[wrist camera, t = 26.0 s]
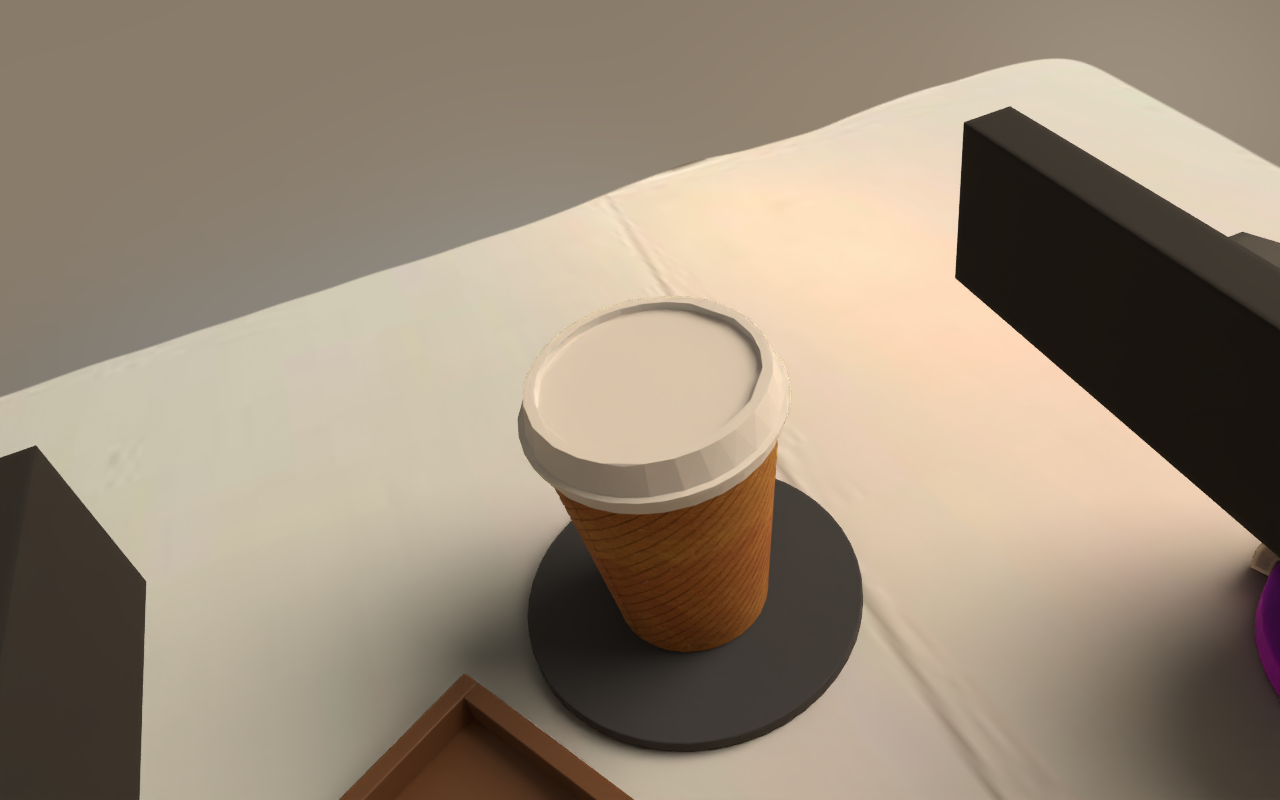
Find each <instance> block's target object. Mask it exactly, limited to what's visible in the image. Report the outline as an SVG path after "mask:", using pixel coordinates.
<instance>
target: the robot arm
mask: <svg viewBox="0 0 1280 800" xmlns="http://www.w3.org/2000/svg"><path fill="white" fill-rule="evenodd" d="M955 278H956V279H957V280H958V281H959V282H961V283H962V284H963V285H964V286H965V287H966V288H968V289H969V290H970V291H971V292H972V293H973V294H974V295H976V296H977V297H978V298H979V299H980V300H981V301H983V302H984V303H985V304H986V305H987V306H988V307H990V308H991V309H992V310H993V311H994V312H995V313H996V314H998V315H999V316H1000V317H1001V318H1002V319H1003V320H1005V321H1006V322H1007V323H1008V324H1009V325H1010V326H1012V327H1013V328H1014V329H1015V330H1016V331H1017V332H1019V333H1020V334H1021V335H1022V336H1023V337H1024V338H1025V339H1027V340H1028V341H1029V342H1030V343H1031V344H1032V345H1034V346H1035V347H1036V348H1037V349H1038V350H1039V351H1041V352H1042V353H1043V354H1044V355H1045V356H1046V357H1047V358H1049V359H1050V360H1051V361H1052V362H1053V363H1054V364H1056V365H1057V366H1058V367H1059V368H1060V369H1061V370H1063V371H1064V372H1065V373H1066V374H1067V375H1068V376H1069V377H1071V378H1072V379H1073V380H1074V381H1075V382H1076V383H1078V384H1079V385H1080V386H1081V387H1082V388H1083V389H1085V390H1086V391H1087V392H1088V393H1089V394H1090V395H1092V396H1093V397H1094V398H1095V399H1096V400H1097V401H1098V402H1100V403H1101V404H1102V405H1103V406H1104V407H1105V408H1107V409H1108V410H1109V411H1110V412H1111V413H1112V414H1114V415H1115V416H1116V417H1117V418H1118V419H1119V420H1120V421H1122V422H1123V423H1124V424H1125V425H1126V426H1127V427H1129V428H1130V429H1131V430H1132V431H1133V432H1134V433H1136V434H1137V435H1138V436H1139V437H1140V438H1141V439H1142V440H1144V441H1145V442H1146V443H1147V444H1148V445H1149V446H1151V447H1152V448H1153V449H1154V450H1155V451H1156V452H1158V453H1159V454H1160V455H1161V456H1162V457H1163V458H1165V459H1166V460H1167V461H1168V462H1169V463H1170V464H1171V465H1173V466H1174V467H1175V468H1176V469H1177V470H1178V471H1180V472H1181V473H1182V474H1183V475H1184V476H1185V477H1187V478H1188V479H1189V480H1190V481H1191V482H1192V483H1193V484H1195V485H1196V486H1197V487H1198V488H1199V489H1200V490H1202V491H1203V492H1204V493H1205V494H1206V495H1207V496H1209V497H1210V498H1211V499H1212V500H1213V501H1214V502H1216V503H1217V504H1218V505H1219V506H1220V507H1221V508H1222V509H1224V510H1225V511H1226V512H1227V513H1228V514H1229V515H1231V516H1232V517H1233V518H1234V519H1235V520H1236V521H1238V522H1239V523H1240V524H1241V525H1242V526H1243V527H1244V528H1246V529H1247V530H1248V531H1249V532H1250V533H1251V534H1253V535H1254V536H1255V537H1256V538H1257V539H1258V540H1260V541H1261V542H1262V543H1263V544H1264V545H1265V546H1266V547H1268V548H1269V549H1270V550H1271V551H1272V552H1273V553H1275V554H1276V555H1277V556H1278V557H1279V558H1280V243H1278V242H1275V241H1271V240H1268V239H1265V238H1261V237H1258V236H1255V235H1251V234H1248V233H1245V232H1241V233H1238V234H1235V235H1233V236H1230V237H1227V236H1225V235H1224V234H1222V233H1220V232H1219V231H1217V230H1215V229H1214V228H1212V227H1210V226H1209V225H1207V224H1205V223H1204V222H1202V221H1200V220H1199V219H1197V218H1195V217H1194V216H1192V215H1190V214H1189V213H1187V212H1185V211H1184V210H1182V209H1180V208H1179V207H1177V206H1175V205H1174V204H1172V203H1170V202H1169V201H1167V200H1165V199H1164V198H1162V197H1160V196H1159V195H1157V194H1155V193H1154V192H1152V191H1150V190H1149V189H1147V188H1145V187H1144V186H1142V185H1140V184H1139V183H1137V182H1135V181H1134V180H1132V179H1130V178H1129V177H1127V176H1125V175H1124V174H1122V173H1120V172H1119V171H1117V170H1115V169H1114V168H1112V167H1110V166H1109V165H1107V164H1105V163H1104V162H1102V161H1100V160H1099V159H1097V158H1095V157H1094V156H1092V155H1090V154H1089V153H1087V152H1085V151H1084V150H1082V149H1080V148H1079V147H1077V146H1075V145H1074V144H1072V143H1070V142H1069V141H1067V140H1065V139H1064V138H1062V137H1060V136H1059V135H1057V134H1055V133H1054V132H1052V131H1050V130H1049V129H1047V128H1045V127H1044V126H1042V125H1040V124H1039V123H1037V122H1035V121H1034V120H1032V119H1030V118H1029V117H1027V116H1025V115H1024V114H1022V113H1020V112H1019V111H1017V110H1015V109H1014V108H1012V107H1007V108H1004V109H1001V110H998V111H995V112H992V113H990V114H987V115H984V116H981V117H978V118H975V119H972V120H970V121H967V122H964V131H963V149H962V167H961V185H960V203H959V220H958V238H957V256H956V274H955ZM145 601H146V581H145V579H144V578H143V577H142V576H141V575H140V573H139V572H138V571H137V570H136V568H135V567H134V566H133V565H132V563H131V562H130V561H129V560H128V558H127V557H126V556H125V555H124V554H123V552H122V551H121V550H120V549H119V547H118V546H117V545H116V544H115V542H114V541H113V540H112V539H111V537H110V536H109V535H108V534H107V533H106V531H105V530H104V529H103V528H102V526H101V525H100V524H99V523H98V521H97V520H96V519H95V518H94V516H93V515H92V514H91V513H90V511H89V510H88V509H87V508H86V507H85V505H84V504H83V503H82V502H81V500H80V499H79V498H78V497H77V495H76V494H75V493H74V492H73V490H72V489H71V488H70V487H69V486H68V484H67V483H66V482H65V481H64V479H63V478H62V477H61V476H60V474H59V473H58V472H57V471H56V469H55V468H54V467H53V466H52V465H51V463H50V462H49V461H48V460H47V458H46V457H45V456H44V455H43V453H42V452H41V451H40V450H39V448H38V447H37V446H33V447H30V448H27V449H24V450H21V451H19V452H16V453H13V454H10V455H7V456H4V457H1V458H0V800H139V795H140V763H141V731H142V698H143V666H144V633H145Z"/></svg>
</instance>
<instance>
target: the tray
mask: <svg viewBox="0 0 1280 800" xmlns="http://www.w3.org/2000/svg"><path fill="white" fill-rule="evenodd" d="M339 800H634V799H632V798H631V797H630V796H628V795H627V794H626V793H624V792H623V791H622V790H620V789H619V788H618V787H616V786H615V785H614V784H612V783H611V782H610V781H608V780H607V779H606V778H604V777H603V776H602V775H600V774H599V773H598V772H596V771H595V770H594V769H592V768H591V767H590V766H588V765H587V764H586V763H584V762H583V761H582V760H580V759H579V758H578V757H576V756H575V755H574V754H572V753H571V752H570V751H568V750H567V749H566V748H564V747H563V746H562V745H560V744H559V743H558V742H556V741H555V740H554V739H552V738H551V737H550V736H548V735H547V734H546V733H544V732H543V731H542V730H540V729H539V728H538V727H536V726H535V725H534V724H532V723H531V722H530V721H528V720H527V719H526V718H524V717H523V716H522V715H520V714H519V713H518V712H516V711H515V710H514V709H512V708H511V707H510V706H508V705H507V704H506V703H504V702H503V701H502V700H500V699H499V698H498V697H496V696H495V695H494V694H492V693H491V692H490V691H488V690H487V689H486V688H484V687H483V686H482V685H480V684H478V683H477V682H476V681H475V680H473V679H472V678H471V677H469V676H468V675H467V674H463V675H462V676H461V677H460V678H459V679H458V680H457V681H456V682H455V683H454V684H453V685H452V686H451V687H450V688H449V689H448V690H447V691H446V692H445V693H444V694H443V695H442V696H441V697H440V698H439V699H438V700H437V701H436V702H435V703H434V704H433V705H432V706H431V707H430V709H429V710H428V711H427V712H426V713H425V714H424V715H423V716H422V717H421V718H420V719H419V720H418V721H417V722H416V723H415V724H414V725H413V726H412V727H411V728H410V729H409V730H408V731H407V732H406V733H405V734H404V735H403V736H402V737H401V738H400V739H399V740H398V741H397V742H396V743H395V744H394V745H393V746H392V747H391V748H390V749H389V750H388V751H387V752H386V753H385V754H384V755H383V756H382V757H381V758H380V759H379V760H378V761H377V762H376V763H375V764H374V765H373V766H372V767H371V768H370V769H369V770H368V771H367V772H366V773H365V774H364V775H363V776H362V777H361V778H360V779H359V780H358V781H357V782H356V783H355V784H354V785H353V786H352V787H351V788H350V789H349V790H348V791H347V792H346V793H345V794H344V795H343V796H342V797H341V798H340V799H339Z"/></svg>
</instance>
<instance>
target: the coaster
mask: <svg viewBox="0 0 1280 800" xmlns="http://www.w3.org/2000/svg"><path fill="white" fill-rule="evenodd" d="M773 503H774V505H773V519H772V533H771V548H770V562H769V577H768V592H767V598H766V601H765V603H764V606H763V608H762V611H761V613H760V614H759V616H758V617H757V618H756V620H755V621H754V623H753V624H752V625H751V626H750V627H749V628H748V629H747V630H746V631H744V632H743V633H742V634H741V635H739V636H738V637H736V638H735V639H733V640H731V641H730V642H728V643H725V644H723V645H720V646H718V647H716V648H712V649H707V650H703V651H692V652H679V651H671V650H666V649H663V648H660V647H657V646H655V645H653V644H651V643H649V642H647V641H645V640H643V639H641V638H640V637H639V636H638V635H637V634H636V633H635V632H633V631H632V629H631V628H630V627H629V625H628V624H627V623H626V621H625V620H624V618H623V615H622V613H621V611H620V609H619V608H618V606H617V604H616V602H615V600H614V598H613V596H612V595H611V592H610V590H609V589H608V587H607V585H606V583H605V581H604V579H603V578H602V575H601V573H600V572H599V570H598V568H597V566H596V564H595V563H594V561H593V559H592V556H591V555H590V553H589V551H588V550H587V548H586V545H585V544H584V542H583V540H582V539H581V536H580V534H579V533H578V531H577V529H576V527H575V525H574V523H573V521H571V522H570V523H569V524H568V525H567V526H566V527H565V528H564V529H563V531H562V532H561V533H560V534H559V535H558V536H557V538H556V539H555V541H554V542H553V543H552V545H551V546H550V548H549V549H548V551H547V553H546V554H545V556H544V558H543V560H542V562H541V564H540V566H539V568H538V571H537V573H536V576H535V579H534V581H533V585H532V589H531V594H530V598H529V608H528V627H529V637H530V641H531V645H532V649H533V653H534V655H535V658H536V660H537V662H538V665H539V667H540V670H541V672H542V674H543V676H544V678H545V680H546V681H547V683H548V684H549V686H550V688H551V689H552V691H553V692H554V694H555V695H556V696H557V697H558V698H559V699H560V700H561V701H562V703H563V704H564V705H565V706H566V707H567V708H568V709H569V710H570V711H572V712H573V713H574V714H575V715H576V716H578V717H579V718H580V719H581V720H582V721H584V722H586V723H587V724H589V725H590V726H592V727H594V728H595V729H597V730H599V731H600V732H602V733H605V734H607V735H609V736H612V737H614V738H616V739H618V740H621V741H624V742H627V743H631V744H634V745H638V746H642V747H646V748H653V749H660V750H667V751H698V750H708V749H717V748H721V747H726V746H730V745H734V744H739V743H742V742H745V741H748V740H750V739H753V738H756V737H759V736H761V735H764V734H766V733H768V732H770V731H772V730H774V729H776V728H778V727H780V726H782V725H784V724H786V723H787V722H788V721H790V720H791V719H793V718H794V717H796V716H797V715H799V714H800V713H802V712H803V711H805V710H806V709H807V708H808V707H809V706H810V705H811V704H812V703H814V702H815V701H816V700H817V699H818V698H819V697H820V696H821V695H822V694H823V693H824V692H825V691H826V690H827V688H828V687H829V686H830V685H831V684H832V683H833V681H834V680H835V679H836V678H837V676H838V675H839V673H840V672H841V670H842V668H843V667H844V665H845V664H846V662H847V660H848V658H849V656H850V654H851V652H852V649H853V647H854V645H855V642H856V640H857V636H858V632H859V628H860V624H861V618H862V607H863V593H862V578H861V573H860V569H859V565H858V561H857V558H856V556H855V553H854V551H853V548H852V546H851V543H850V542H849V540H848V538H847V537H846V535H845V533H844V532H843V530H842V528H841V527H840V526H839V525H838V524H837V522H836V521H835V520H834V519H833V518H832V516H831V515H830V514H829V513H828V512H827V511H826V510H825V509H824V508H823V507H821V506H820V505H819V504H818V503H817V502H816V501H815V500H813V499H812V498H810V497H809V496H807V495H806V494H805V493H803V492H802V491H800V490H798V489H796V488H794V487H792V486H791V485H789V484H787V483H785V482H782V481H780V480H777V479H775V488H774V502H773Z"/></svg>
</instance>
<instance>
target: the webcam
mask: <svg viewBox="0 0 1280 800" xmlns="http://www.w3.org/2000/svg"><path fill="white" fill-rule="evenodd" d="M1250 566H1251V568H1253V569H1255V570H1257V571H1259V572H1261V573H1263V574H1265V575H1267V576H1269V577H1268V580H1267V582H1266V585H1265V587H1264V589H1263V592H1262V594H1261V596H1260V599H1259V603H1258V606H1257V610H1256V617H1255V636H1256V645H1257V649H1258V653H1259V656H1260V660H1261V663H1262V665H1263V668H1264V670H1265V673H1266V675H1267V677H1268V679H1269V681H1270V682H1271V684H1272V686H1273V688H1274V689H1275V691H1276V693H1277V694H1278V696H1279V698H1280V558H1279V557H1278V556H1277V555H1276V554H1275V553H1273V552H1272V551H1271V550H1270V549H1269V548H1268V547H1266V546H1265V545H1264V544H1263V543H1262V544H1261V545H1260V546H1259V547H1258V548H1257V550H1256V551H1255V554H1254V556H1253V559H1252V561H1251V564H1250Z"/></svg>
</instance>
